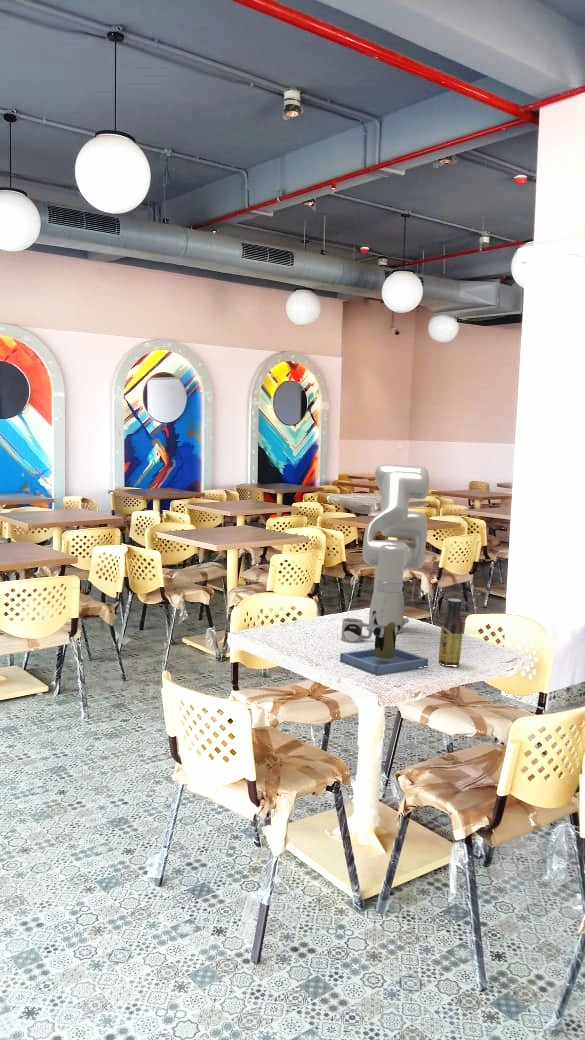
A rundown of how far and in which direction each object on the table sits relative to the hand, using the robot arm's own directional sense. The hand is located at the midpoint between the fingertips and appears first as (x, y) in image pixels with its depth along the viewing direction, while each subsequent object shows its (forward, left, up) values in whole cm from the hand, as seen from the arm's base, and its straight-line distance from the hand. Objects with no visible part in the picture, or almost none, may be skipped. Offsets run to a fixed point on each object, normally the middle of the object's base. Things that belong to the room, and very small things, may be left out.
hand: (384, 648), depth 240 cm
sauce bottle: (-18, +9, -5) cm, 21 cm away
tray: (0, 0, -5) cm, 5 cm away
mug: (-12, -26, -5) cm, 29 cm away
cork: (0, 0, -2) cm, 2 cm away
